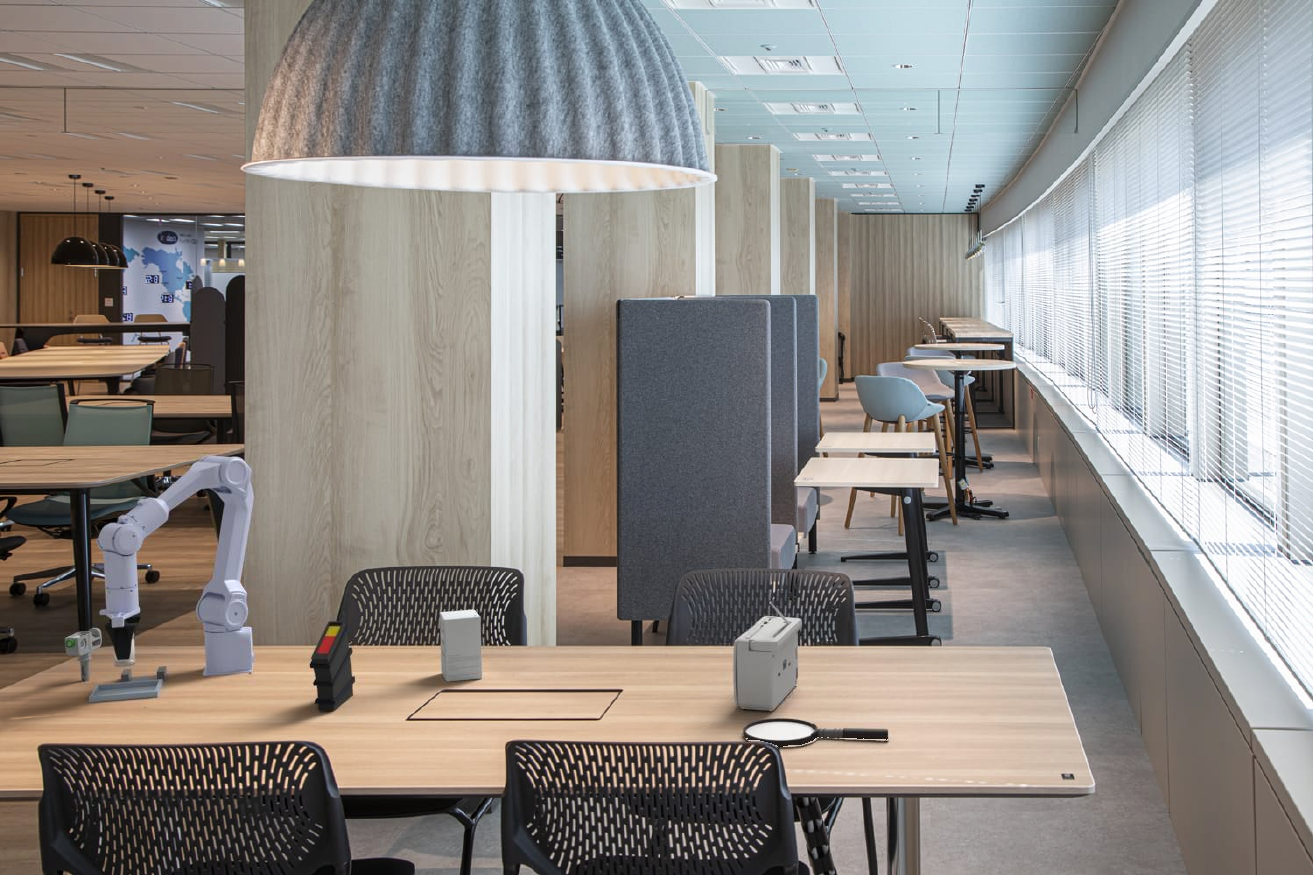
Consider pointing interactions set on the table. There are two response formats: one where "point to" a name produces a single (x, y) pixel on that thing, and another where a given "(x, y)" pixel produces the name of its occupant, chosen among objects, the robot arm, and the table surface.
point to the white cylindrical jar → (129, 661)
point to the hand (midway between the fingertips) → (124, 656)
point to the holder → (127, 676)
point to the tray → (126, 691)
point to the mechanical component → (83, 648)
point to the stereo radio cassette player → (766, 662)
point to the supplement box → (460, 645)
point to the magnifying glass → (802, 732)
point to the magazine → (333, 667)
